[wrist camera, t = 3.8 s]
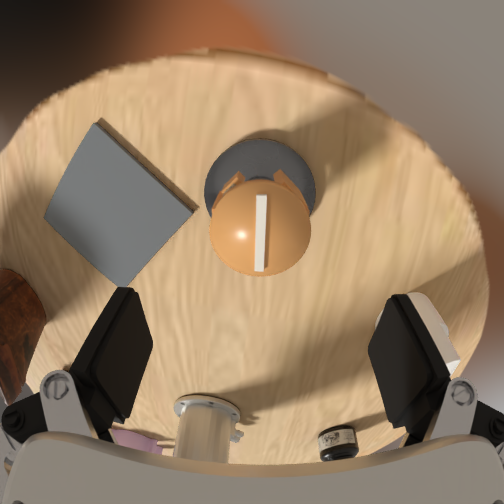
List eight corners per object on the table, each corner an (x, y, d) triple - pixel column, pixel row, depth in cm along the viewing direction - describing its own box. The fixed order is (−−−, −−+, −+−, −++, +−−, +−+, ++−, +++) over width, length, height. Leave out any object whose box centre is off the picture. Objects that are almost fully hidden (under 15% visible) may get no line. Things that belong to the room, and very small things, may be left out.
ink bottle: (352, 420, 48) (360, 467, 38) (359, 430, 52) (367, 472, 41) (310, 432, 51) (315, 478, 40) (322, 442, 54) (326, 482, 44)
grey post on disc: (333, 195, 25) (360, 230, 18) (257, 257, 29) (257, 307, 22) (261, 116, 22) (263, 118, 15) (185, 191, 25) (158, 224, 18)
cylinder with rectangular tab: (380, 297, 31) (417, 372, 21) (437, 287, 31) (480, 351, 20) (369, 344, 36) (392, 414, 25) (421, 334, 35) (450, 395, 24)
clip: (106, 435, 62) (101, 453, 56) (91, 419, 56) (84, 438, 50) (165, 450, 62) (161, 469, 56) (155, 436, 56) (150, 457, 50)
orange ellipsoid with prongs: (296, 242, 23) (305, 279, 19) (221, 240, 23) (211, 277, 19) (302, 168, 20) (316, 188, 15) (219, 166, 20) (206, 185, 16)
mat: (193, 211, 26) (192, 213, 26) (124, 287, 31) (122, 290, 31) (96, 122, 22) (93, 122, 21) (46, 215, 27) (43, 217, 26)
